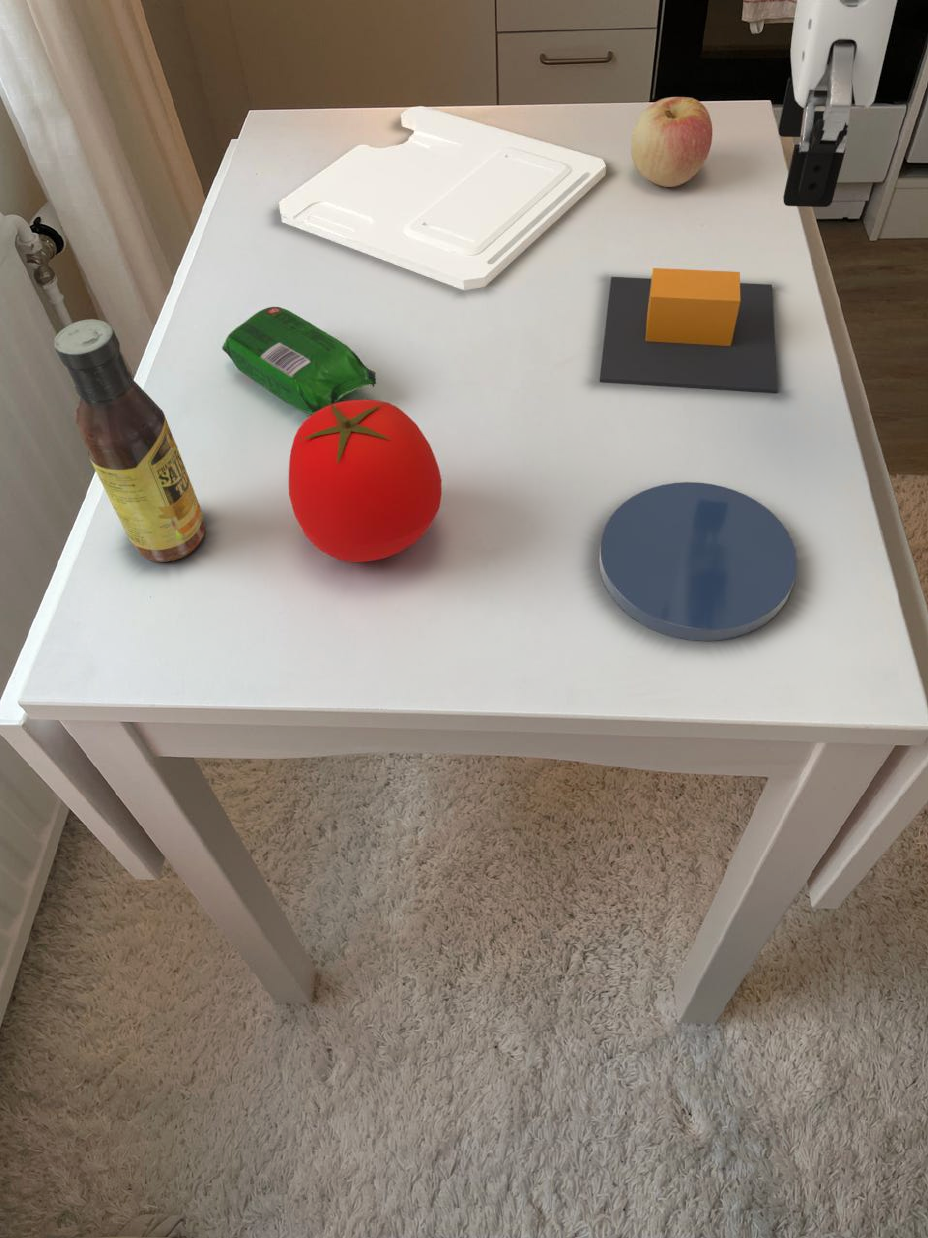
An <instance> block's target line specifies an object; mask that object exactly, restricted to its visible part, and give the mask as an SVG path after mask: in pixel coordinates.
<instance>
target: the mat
mask: <svg viewBox="0 0 928 1238" xmlns="http://www.w3.org/2000/svg"><path fill="white" fill-rule="evenodd" d="M651 279H652V278H643V277H625V276H623V277H622V276H611V277H610V286H609V292H608V301H607V312H606V320H605V327H604V328H605V329H604V336H603V337H604V339H603V347H602V355H601V357H602V358H601V366H600V373H599V374H600V375H599V383H613V384H630V385H643V386H661V387H674V388H689V389H707V390H723V391H724V390H725V391H739V392H753V393H754V392H755V393H768V394H777V393H778V390H779V389H778V373H777V372H778V371H777V358H776V357H777V356H776V354H777V352H776V335H775V316H774V299H773V298H774V297H773V296H774V295H773V284H767V283H748V282H747V283H746V282H740V306H739V310H738V315H737V320H736V324H735V329H734V334H733V338H732V343H731V346H718V345H701V344H683V343H665V342H648V341H645V339H646V324H647V311H648V303H649V295H650V287H651Z"/></svg>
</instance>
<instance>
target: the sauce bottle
mask: <svg viewBox="0 0 928 1238" xmlns="http://www.w3.org/2000/svg"><path fill="white" fill-rule="evenodd" d="M53 343H54V349H55V352H56V353H57V356H58V358H59V360H60V361H61V363H62V364H63V366H64V367H65V368H67V371H68V373H69V375H70V377H71V379H72V382H73V383H74V386H75V387H74V388H75V391H76V393H77V394H78V396H79V403H78V407H77V408H76V417H75V418H76V419H75V420H76V421H75V423H76V427H77V429H78V430H77V431H78V434H79V436H80V438H81V440H82V442H83V444H84V445H85V447H86V449H87V454H88V457H89V461H90V462H91V464H92V466H93V469H94V470H95V473H96V474H97V476H98V479H99V481H100V482H101V484H102V487H103V489H104V491H105V493H106V495H107V498H108V499H109V502H110V504H111V505H112V507H113V509H114V511H115V514H116V515H117V518H118V520H119V522H120V524H121V526H122V528H123V530H124V532H125V534H126V536H127V538H128V539H129V541H130V542H131V543H132V545H133V546H134V548H135V549H136V551H137V553H139V554H140V555H141V556H143V558H145V559H147V560H149V561H152V562H156V563H167V562H171V561H177V560H180V559H183V558H186V557H187V556H188V555H190V554H191V553H192V552H193V551H195V550H196V548H198V547H199V545H200V544H201V542H202V540H203V538H204V536H205V530H206V526H205V521H204V518H203V510H202V508H201V505H200V503H199V499H198V498H197V495H196V493H195V490H194V486H193V485H192V481H191V479H190V477H189V475H188V474H189V473H188V472H187V471H188V470H187V468H186V466H185V464H184V461H183V459H182V455H181V453H180V451H179V448H178V445H177V444H176V441H175V438H174V436H173V433H172V431H171V427H170V425H169V422H168V420H167V418H166V415H165V413H164V411H163V410H162V409H161V408H160V407H159V405H158V404H157V403H156V402H155V401H154V400H153V399H152V398H151V397H150V395H148V394H147V393H146V392H145V390H144V389H143V388H142V387H141V386H140V385H139V384H138V383H137V382H136V381H135V379H133V376H132V374H131V372H130V371H129V370H128V368H127V365H126V363H125V360H124V358H123V355H122V353H121V351H120V346H121V344H120V341H119V339H118V337H117V334H116V333H115V330H114V328H113V327H112V326H111V324H109V323H108V322H106V321H103V320H101V319H94V318H92V319H91V318H90V319H84V320H79V321H75V322H73V323H71V324H69V325H67V326H66V327H64V328H62V329H61V330H59V332H58V333H57V334H56V336H55V337H54V341H53Z"/></svg>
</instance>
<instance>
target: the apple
mask: <svg viewBox="0 0 928 1238" xmlns="http://www.w3.org/2000/svg"><path fill="white" fill-rule="evenodd" d="M712 142H713V123H712V119H711V116H710V112H709V111H708V109H707V108H706V106H705V105H704V104H703V103H702V102H700V101H699V100H698V99H695V98H694V97H688V96H687V97H686V96H670V97H664V98H661V99H659V100H657V101H655V102H653V103H652V104H651V105H649V106H648V107H647V108H646V109H644V111H643V112H642V113H641V114H640V115H639V117H638V119H637V121H636V123H635V125H634V129H633V133H632V136H631V143H630V154H631V158H632V162H633V164H634V166H635V168H636V170H637V171H638V172H639V173H640V175H641V176H643V178H645V179H646V180H648V181H649V182H650V183H651V182H652V183H653V184H655V185H658V186H660V187H665V188H675V187H678V186H681V185H683V184H686V182H688V181H689V180H691V179H692V178H693V177H695V175H696V174H697V173H698V172H699V171H700V169H701V168H702V167H703V165H704V164H705V162H706V160H707V158H708V156H709V153H710V150H711V147H712Z"/></svg>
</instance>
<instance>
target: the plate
mask: <svg viewBox="0 0 928 1238" xmlns="http://www.w3.org/2000/svg"><path fill="white" fill-rule="evenodd" d="M796 551H797V550H796V547H795V545H794V541H793V538H792V537H791V535H790V532H789V531H788V530H787V529H786V526H785V525H784V524H783V523H782V522H781V520H780V519H779V518H778V517H777V516H776V515H775V514H774V513H773V512H772V511H770V510H769V508H767V507H766V506H764V505H763V504H762V503H760V502H759V501H757V500H756V499H754V498H752V497H750V496H748V495H747V494H744V493H742V492H740V491H737V490H735V489H732V488H730V487H729V488H728V487H725V486H723V485H717V484H713V483H705V482H698V481H697V482H695V481H693V482H690V481H684V482H672V483H666V484H661V485H656V486H653V487H650V488H648V489H645V490H643V491H640V492H639V493H636V494H635V495H633V496H632V497H629V498H628V499H627V500H625V501H624V502H623V503H622V504H621V505H620V506H619V507H618V508H616V510H615V511H614V512H613V513H612V514H611V515H610V517H609V519H608V520H607V522H606V523H605V526H604V527H603V531H602V534H601V538H600V545H599V555H598V556H599V557H598V563H599V564H598V565H599V570H600V575H601V578H602V581H603V584H604V586H605V588H606V590H607V592H608V593H609V595H610V597H611V598H612V599H613V601H614V602H615V603H616V604H617V605H618V606H619V607H620V608H621V609H622V610H623V611H624V612H625V613H626V614H627V615H629V616H630V617H631V618H632V619H634V621H636V622H638V623H640V624H642V625H643V626H645V627H647V628H648V629H651V630H653V631H655V632H657V633H661V634H663V635H666V636H670V637H672V638H673V637H674V638H677V639H681V640H689V641H697V642H698V641H700V642H701V641H702V642H712V641H722V640H729V639H733V638H737V637H741V636H744V635H747V634H749V633H752V632H754V631H756V630H757V629H759V628H761V627H762V626H764V625H766V624H767V623H768V622H769V621H770V620H772V619H773V618H775V616H777V614H778V613H779V612H780V611H781V610H782V608H783V607H784V605H785V604H786V603H787V601H788V598H789V597H790V596H789V595H790V593H791V592H792V591H791V590H792V589H793V586H794V583H795V580H796V576H797V575H796V574H797V570H798V558H797V552H796Z"/></svg>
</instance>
